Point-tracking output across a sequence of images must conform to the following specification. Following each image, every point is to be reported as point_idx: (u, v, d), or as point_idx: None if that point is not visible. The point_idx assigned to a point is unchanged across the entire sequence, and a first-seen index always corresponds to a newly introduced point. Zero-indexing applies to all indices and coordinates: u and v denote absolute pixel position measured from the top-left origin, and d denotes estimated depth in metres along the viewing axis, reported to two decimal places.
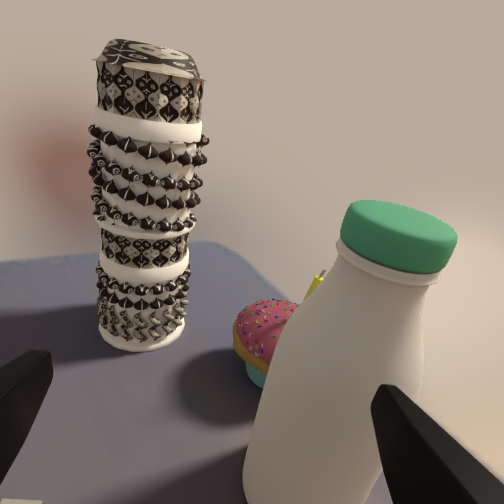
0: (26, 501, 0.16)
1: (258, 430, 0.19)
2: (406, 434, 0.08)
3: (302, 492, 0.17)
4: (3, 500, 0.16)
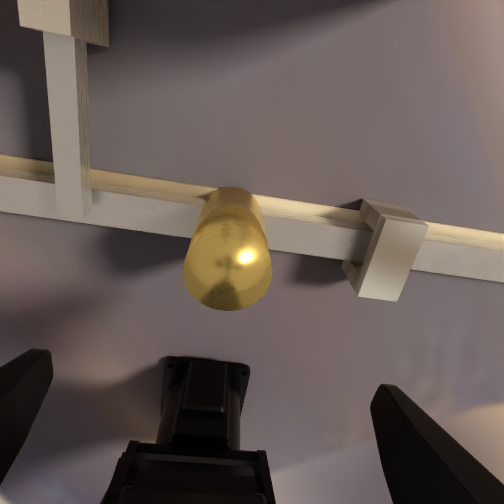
0: None
1: None
2: (406, 434, 0.08)
3: None
4: None
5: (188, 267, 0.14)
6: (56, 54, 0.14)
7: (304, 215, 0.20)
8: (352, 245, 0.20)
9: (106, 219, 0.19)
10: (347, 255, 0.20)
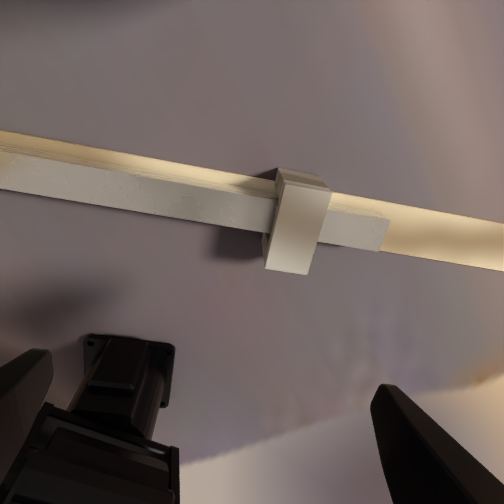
0: None
1: None
2: (406, 434, 0.08)
3: None
4: None
5: None
6: None
7: (20, 148, 0.18)
8: (69, 181, 0.18)
9: None
10: (67, 194, 0.18)
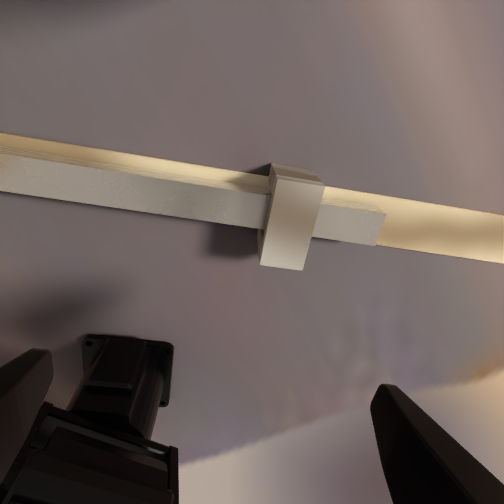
0: None
1: None
2: (406, 434, 0.08)
3: None
4: None
5: None
6: None
7: (12, 149, 0.18)
8: (61, 181, 0.18)
9: None
10: (60, 194, 0.18)
